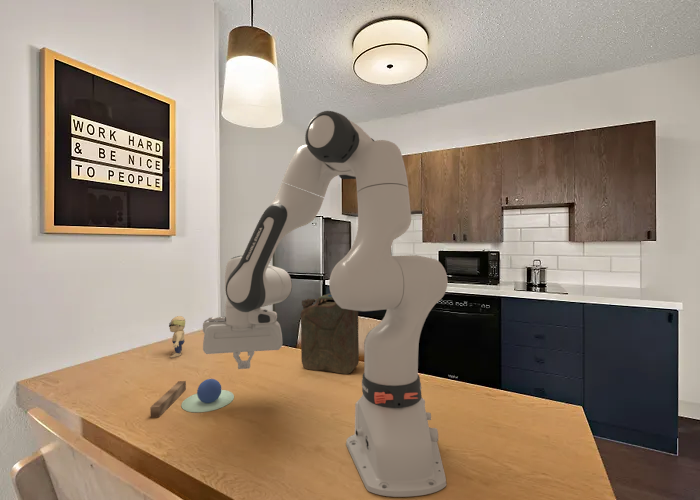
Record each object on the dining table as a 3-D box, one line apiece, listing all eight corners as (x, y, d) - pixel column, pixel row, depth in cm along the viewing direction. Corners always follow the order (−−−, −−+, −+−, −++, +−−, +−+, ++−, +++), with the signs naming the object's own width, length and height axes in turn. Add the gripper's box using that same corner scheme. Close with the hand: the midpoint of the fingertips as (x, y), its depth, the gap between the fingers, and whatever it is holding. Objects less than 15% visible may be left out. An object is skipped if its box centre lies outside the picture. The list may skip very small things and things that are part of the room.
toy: (172, 351, 135) (172, 313, 135) (188, 349, 137) (187, 312, 137) (165, 361, 123) (165, 320, 123) (182, 359, 125) (182, 319, 125)
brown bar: (159, 417, 82) (158, 406, 82) (150, 417, 82) (150, 407, 82) (185, 389, 98) (185, 380, 98) (178, 389, 98) (178, 381, 98)
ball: (191, 394, 86) (202, 412, 88) (214, 382, 87) (225, 400, 89) (194, 381, 91) (205, 398, 93) (215, 370, 93) (225, 387, 94)
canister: (360, 367, 115) (359, 293, 115) (352, 376, 107) (351, 297, 107) (310, 361, 122) (309, 291, 121) (299, 369, 114) (298, 295, 113)
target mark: (226, 411, 85) (226, 410, 85) (172, 413, 84) (172, 412, 84) (239, 389, 98) (239, 388, 98) (192, 391, 97) (192, 390, 97)
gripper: (198, 319, 86) (199, 374, 86) (280, 316, 89) (281, 369, 88) (206, 315, 92) (207, 367, 92) (282, 312, 95) (283, 362, 94)
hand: (244, 368), depth 90 cm, fingers closed
